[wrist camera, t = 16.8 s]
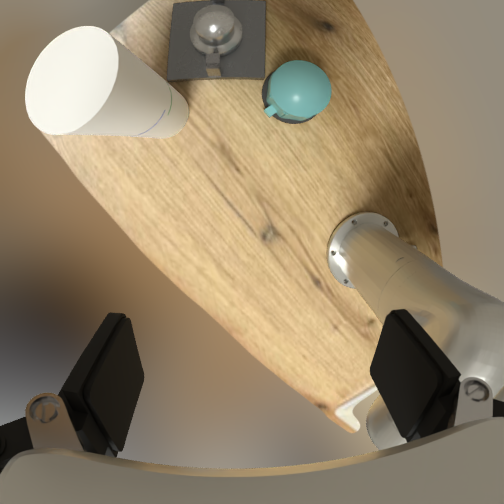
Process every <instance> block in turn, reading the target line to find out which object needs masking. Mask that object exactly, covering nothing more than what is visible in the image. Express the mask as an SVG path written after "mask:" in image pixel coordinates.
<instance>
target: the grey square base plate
mask: <svg viewBox="0 0 504 504" xmlns="http://www.w3.org/2000/svg"><path fill="white" fill-rule="evenodd" d="M265 12H266V1H256V0H210V1H196V2H184V3H175V4H173V12H172V21H171V31H170V42H169V55H168V70H167V81H168V82H176V81H190V80H213V79H251V80H264V78H265Z"/></svg>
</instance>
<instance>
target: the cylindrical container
mask: <svg viewBox="0 0 504 504" xmlns="http://www.w3.org/2000/svg"><path fill="white" fill-rule="evenodd" d="M25 94H26V95H25V102H26V109H27V112H28V115H29V118H30V119H31V121H32V122H33V124H34V125H35V126H36V127H37V128H38V129H39V130H41V131H43V132H45V133H47V134H52V135H111V136H132V137H147V138H161V139H163V138H169V137H172V136H174V135H176V134H177V133H178V132H180V131H181V130H182V129H183V127H184V126H185V124H186V122H187V120H188V116H189V107H188V104H187V102H186V100H185V98H184V97H183V96H182V95H181V94H180V93H179V92H178V91H177V90H175V89H174V88H173V87H172V86H171V85H170V84H169V83H168V82H166V81H165V80H164V79H163V78H162V77H161V76H159V75H158V74H157V73H156V72H155V71H154V70H153V69H151V68H150V67H149V66H148V65H147V64H145V63H144V62H143V61H142V60H141V59H140V58H138V57H137V56H136V55H135V54H133V53H132V52H131V51H130V50H129V49H127V48H126V47H125V46H124V45H122V44H121V43H120V42H119V41H117V40H116V39H115V38H114V37H112V36H111V35H110V34H109V33H107V32H106V31H104V30H102V29H101V28H97V27H94V26H82V27H77V28H74V29H71V30H69V31H66V32H64V33H63V34H61V35H60V36H58V37H56V38H55V39H54V40H53V41H52V42H51V43H50V44H48V46H47V47H46V48H45V49H44V50H43V51H42V52H41V54H40V55H39V57H38V58H37V60H36V61H35V63H34V66H33V67H32V69H31V72H30V74H29V77H28V80H27V86H26V93H25Z"/></svg>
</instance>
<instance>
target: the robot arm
mask: <svg viewBox="0 0 504 504" xmlns="http://www.w3.org/2000/svg"><path fill="white" fill-rule="evenodd" d="M352 220H353V222H352ZM383 223H384V224H383ZM332 250H333V252H331V251H332ZM327 262H328V267H329V269H330V271H331V273H332V274H333V276H334V277H335V278H336V280H337V281H338V282H339V283H341V284H342V285H344V286H346V287H349V288H354V289H357V291H358V292H359V293H360V295H361V296H362V297H363V299H364V300H365V301H366V303H367V304H368V305H369V307H370V308H371V309H372V311H373V312H374V313H375V315H376V316H377V318H378V319H379V320H380V322H381V323H382V324H383V328H382V332H381V335H380V338H379V342H378V345H377V348H376V351H375V354H374V357H373V360H372V363H371V366H370V375H371V377H372V379H373V381H374V383H375V385H376V387H377V389H378V390H379V393H380V395H379V396H378V397H377V399H376V400H375V401H374V403H373V404H372V406H371V407H370V409H369V412H368V415H367V419H366V427H367V431H368V434H369V436H370V438H371V440H372V442H373V443H374V444H375V446H376V447H377V448H378V449H379V451H375V452H372V453H367V454H363V455H358V456H353V457H348V458H343V459H338V460H332V461H326V462H319V463H312V464H304V465H296V466H285V467H271V468H251V469H250V468H249V469H215V468H193V467H181V466H170V465H162V464H154V463H146V462H140V461H133V460H127V459H121V458H116V457H117V454H118V451H122V450H123V448H124V444H125V441H126V437H127V434H128V430H129V427H130V423H131V420H132V417H133V413H134V410H135V407H136V404H137V401H138V398H139V394H140V391H141V388H142V385H143V382H144V372H143V368H142V365H141V361H140V357H139V353H138V349H137V345H136V341H135V338H134V333H133V328H132V324H131V320H130V318H126V316H125V314H122V313H109V314H108V315H107V316H106V318H105V319H104V321H103V322H102V324H101V325H100V327H99V328H98V330H97V331H96V333H95V335H94V336H93V338H92V339H91V341H90V343H89V344H88V346H87V347H86V348H85V350H84V352H83V353H82V355H81V356H80V358H79V360H78V361H77V363H76V365H75V366H74V368H73V370H72V371H71V373H70V375H69V377H68V379H67V380H66V382H65V383H64V385H63V387H62V389H61V391H60V392H59V394H58V395H56V394H54V393H42V394H39V395H36V396H35V397H33V398H32V399H31V400H30V401H29V403H28V404H27V406H26V409H25V415H26V417H23V418H20V419H18V420H15V421H13V422H10V423H7V424H4V425H2V426H0V504H504V302H502V301H501V300H499V299H498V298H495V297H494V296H491V295H489V294H487V293H485V292H483V291H481V290H479V289H477V288H475V287H473V286H471V285H469V284H468V283H466V282H464V281H462V280H460V279H459V278H458V277H456V276H455V275H453V274H451V273H450V272H448V271H447V270H445V269H444V268H443V267H441V266H440V265H438V264H437V263H436V262H434V261H433V260H431V259H430V258H428V257H427V256H426V255H424V254H423V253H421V252H420V251H418V250H417V248H416V246H415V245H409V244H408V243H406V242H405V241H403V240H402V239H400V238H399V235H398V232H397V230H396V228H395V226H394V225H393V224H392V222H391V221H390V220H388V219H387V218H386V217H384V216H382V215H380V214H378V213H374V212H361V213H357V214H354V215H352V216H350V217H348V218H347V219H345V220H344V221H343V222H342V223H341V224H339V226H338V227H337V228H336V229H335V231H334V232H333V234H332V236H331V238H330V241H329V244H328V248H327Z"/></svg>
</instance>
